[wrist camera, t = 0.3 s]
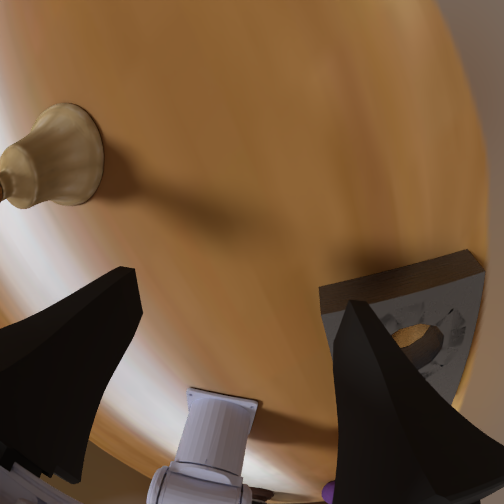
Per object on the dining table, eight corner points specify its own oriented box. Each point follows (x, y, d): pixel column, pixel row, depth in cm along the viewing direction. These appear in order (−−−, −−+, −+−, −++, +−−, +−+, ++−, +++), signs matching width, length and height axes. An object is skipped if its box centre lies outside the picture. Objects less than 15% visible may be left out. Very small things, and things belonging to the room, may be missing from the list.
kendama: (325, 507, 51) (317, 501, 41) (330, 489, 56) (323, 477, 46) (348, 509, 49) (346, 503, 39) (352, 490, 53) (351, 479, 43)
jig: (442, 391, 26) (448, 411, 24) (348, 414, 30) (349, 436, 27) (467, 249, 18) (485, 271, 15) (318, 287, 21) (321, 314, 18)
